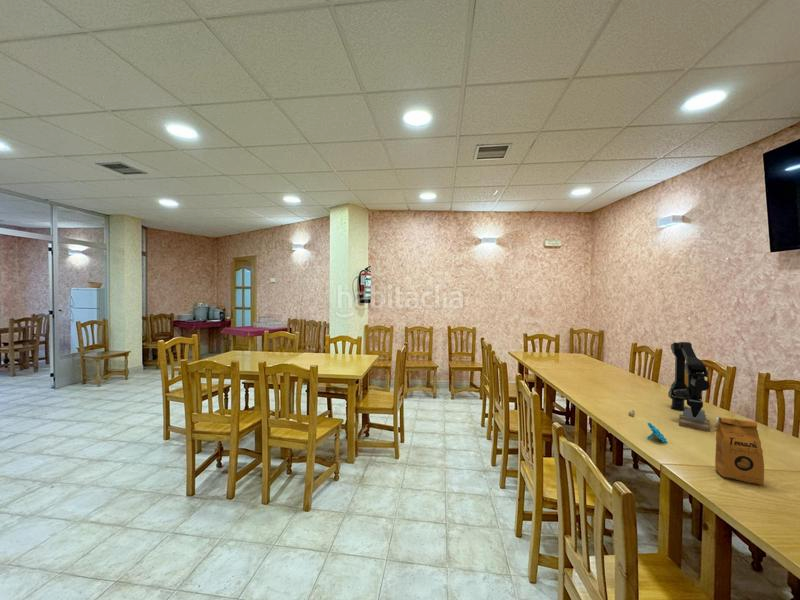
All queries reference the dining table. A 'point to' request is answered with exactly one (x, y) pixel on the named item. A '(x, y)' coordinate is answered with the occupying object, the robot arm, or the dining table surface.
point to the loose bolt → (631, 413)
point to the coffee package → (739, 451)
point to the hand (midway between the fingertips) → (694, 415)
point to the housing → (698, 419)
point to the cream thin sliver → (717, 421)
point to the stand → (694, 424)
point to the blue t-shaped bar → (656, 433)
